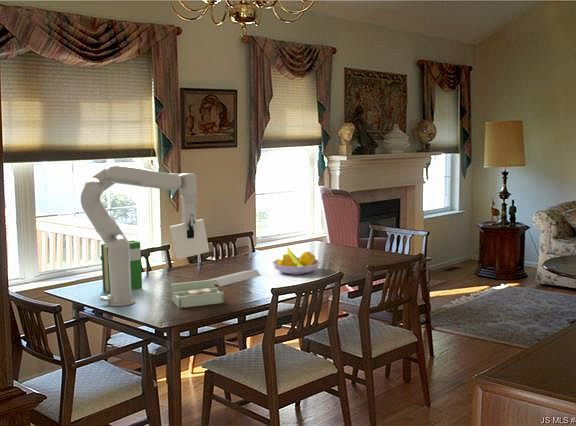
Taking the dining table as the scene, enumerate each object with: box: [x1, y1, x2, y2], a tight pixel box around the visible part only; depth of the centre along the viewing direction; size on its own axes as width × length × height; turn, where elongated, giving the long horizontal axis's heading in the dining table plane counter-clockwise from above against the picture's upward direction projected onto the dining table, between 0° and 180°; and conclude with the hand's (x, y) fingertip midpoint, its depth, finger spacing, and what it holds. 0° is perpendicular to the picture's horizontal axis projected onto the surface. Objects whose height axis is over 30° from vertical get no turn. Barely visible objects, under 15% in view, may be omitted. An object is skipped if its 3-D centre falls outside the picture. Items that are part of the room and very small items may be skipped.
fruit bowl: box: [271, 247, 321, 276], centre depth 376 cm, size 28×27×11 cm
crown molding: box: [208, 269, 262, 287], centre depth 359 cm, size 31×12×4 cm, turn 140°
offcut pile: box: [186, 288, 212, 296], centre depth 311 cm, size 12×6×6 cm, turn 116°
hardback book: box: [100, 240, 143, 294], centre depth 338 cm, size 18×7×24 cm, turn 129°
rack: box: [170, 278, 225, 309], centre depth 313 cm, size 21×15×8 cm
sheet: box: [169, 218, 210, 260], centre depth 319 cm, size 16×2×16 cm, turn 111°
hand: (189, 237), depth 319 cm, fingers closed on sheet, 2 cm apart
